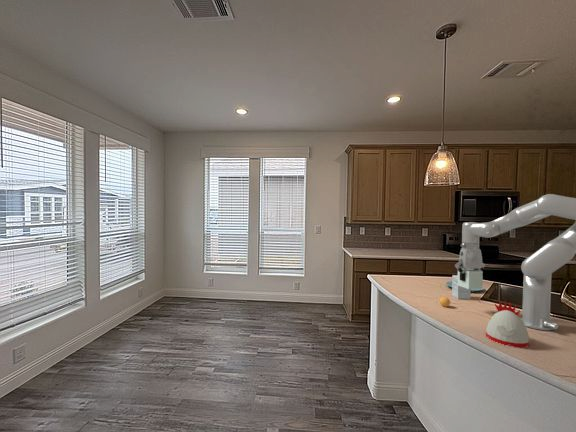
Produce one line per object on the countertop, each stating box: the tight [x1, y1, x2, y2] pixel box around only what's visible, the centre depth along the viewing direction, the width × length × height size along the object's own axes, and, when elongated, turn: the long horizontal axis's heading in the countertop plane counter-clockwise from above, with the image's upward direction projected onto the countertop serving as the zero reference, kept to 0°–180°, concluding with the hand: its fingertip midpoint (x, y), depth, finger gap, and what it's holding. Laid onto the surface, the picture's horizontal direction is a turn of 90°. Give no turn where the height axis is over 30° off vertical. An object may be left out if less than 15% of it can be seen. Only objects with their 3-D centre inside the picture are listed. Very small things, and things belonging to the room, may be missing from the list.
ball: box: [439, 296, 451, 308], centre depth 157 cm, size 5×5×5 cm
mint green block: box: [457, 269, 484, 289], centre depth 150 cm, size 8×8×9 cm
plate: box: [444, 280, 485, 293], centre depth 194 cm, size 22×22×3 cm
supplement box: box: [451, 274, 472, 300], centre depth 174 cm, size 7×7×13 cm
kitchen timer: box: [485, 301, 530, 348], centre depth 117 cm, size 14×14×15 cm
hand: (469, 280), depth 150 cm, fingers closed on mint green block, 7 cm apart
